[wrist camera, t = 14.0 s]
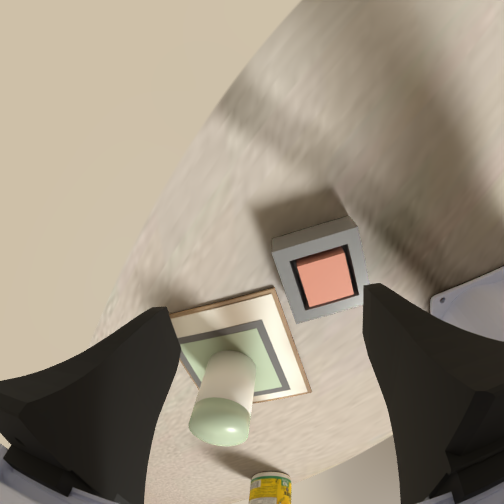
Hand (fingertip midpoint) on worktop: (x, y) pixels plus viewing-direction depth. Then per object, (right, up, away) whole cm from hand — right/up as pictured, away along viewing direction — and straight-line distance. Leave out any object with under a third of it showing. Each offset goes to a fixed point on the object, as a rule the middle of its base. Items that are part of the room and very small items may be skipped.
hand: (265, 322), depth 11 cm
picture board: (-2, -6, +13) cm, 14 cm away
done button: (+4, +1, +8) cm, 9 cm away
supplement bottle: (+2, -28, +21) cm, 35 cm away
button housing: (+4, +2, +9) cm, 10 cm away
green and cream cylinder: (-2, -7, +13) cm, 15 cm away
